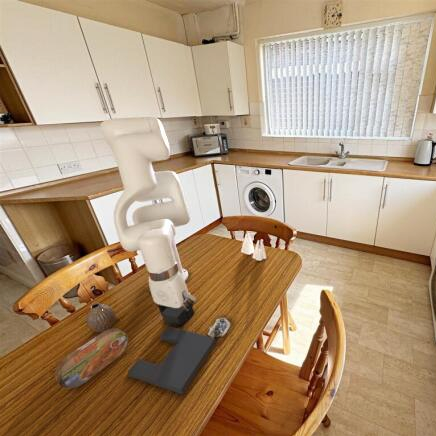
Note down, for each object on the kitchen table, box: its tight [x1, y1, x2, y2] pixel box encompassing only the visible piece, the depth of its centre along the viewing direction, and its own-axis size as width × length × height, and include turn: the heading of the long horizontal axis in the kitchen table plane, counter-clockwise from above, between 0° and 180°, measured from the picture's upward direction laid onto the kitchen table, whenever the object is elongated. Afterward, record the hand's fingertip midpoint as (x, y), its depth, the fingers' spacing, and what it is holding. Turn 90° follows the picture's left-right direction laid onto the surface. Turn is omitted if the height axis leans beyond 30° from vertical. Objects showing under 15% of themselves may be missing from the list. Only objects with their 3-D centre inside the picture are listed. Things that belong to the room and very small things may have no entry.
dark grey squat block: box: [160, 302, 189, 327], centre depth 76 cm, size 6×6×4 cm
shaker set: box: [240, 233, 267, 261], centre depth 105 cm, size 12×4×11 cm, turn 58°
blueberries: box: [206, 317, 232, 339], centre depth 72 cm, size 7×8×2 cm
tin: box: [54, 328, 129, 389], centre depth 61 cm, size 15×3×8 cm, turn 148°
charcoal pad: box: [127, 325, 217, 396], centre depth 63 cm, size 16×14×2 cm
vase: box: [85, 302, 117, 333], centre depth 72 cm, size 7×7×9 cm
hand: (177, 314), depth 76 cm, fingers open, 9 cm apart
